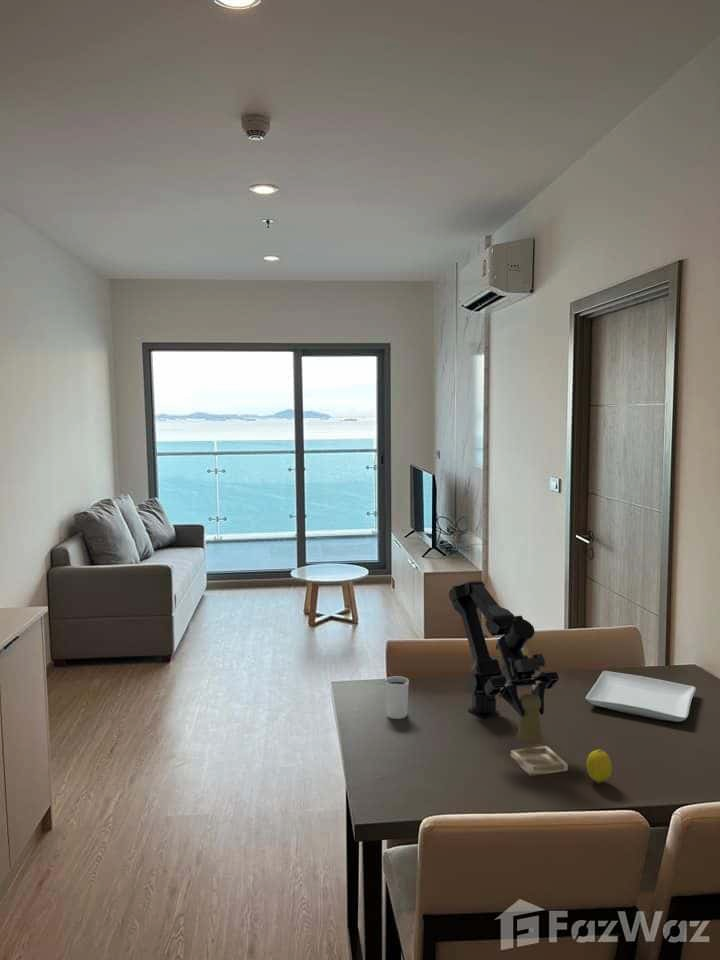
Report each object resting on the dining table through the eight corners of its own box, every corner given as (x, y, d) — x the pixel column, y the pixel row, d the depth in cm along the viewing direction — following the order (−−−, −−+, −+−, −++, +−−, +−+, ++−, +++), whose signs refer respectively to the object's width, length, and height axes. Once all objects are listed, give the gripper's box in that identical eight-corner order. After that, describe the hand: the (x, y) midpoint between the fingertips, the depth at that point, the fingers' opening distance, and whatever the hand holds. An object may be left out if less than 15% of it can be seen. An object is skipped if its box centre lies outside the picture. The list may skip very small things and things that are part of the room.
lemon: (582, 777, 170) (583, 744, 169) (604, 776, 170) (606, 743, 170) (591, 789, 164) (592, 755, 164) (615, 788, 165) (616, 754, 164)
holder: (510, 756, 180) (510, 750, 180) (546, 751, 183) (546, 745, 182) (529, 776, 170) (530, 769, 170) (567, 770, 173) (567, 764, 173)
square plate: (686, 730, 196) (687, 716, 195) (583, 710, 209) (584, 697, 209) (695, 696, 219) (696, 684, 219) (603, 680, 233) (603, 668, 232)
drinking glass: (403, 708, 209) (403, 675, 208) (412, 717, 203) (412, 683, 202) (381, 711, 207) (381, 677, 206) (389, 720, 201) (390, 686, 200)
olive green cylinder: (537, 746, 176) (538, 702, 175) (513, 740, 180) (514, 697, 179) (545, 736, 181) (546, 694, 180) (522, 731, 185) (523, 689, 184)
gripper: (490, 645, 180) (509, 706, 170) (557, 639, 185) (579, 698, 175) (476, 665, 188) (494, 724, 179) (541, 659, 193) (561, 716, 183)
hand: (532, 715), depth 179 cm, fingers closed on olive green cylinder, 5 cm apart
